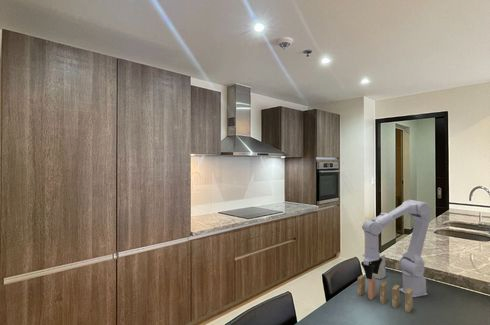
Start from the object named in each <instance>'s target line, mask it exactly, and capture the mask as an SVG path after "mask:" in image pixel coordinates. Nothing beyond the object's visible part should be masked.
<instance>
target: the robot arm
mask: <svg viewBox="0 0 490 325" xmlns="http://www.w3.org/2000/svg"><path fill="white" fill-rule="evenodd" d="M401 203H402V204H401V205H399V206H397V207H396V208H394V209H393V210H391V211H389V212H380V214H379V215H377V216H375V217H372V218H371V219H368V220H365V221H364V222H363V223H362V225H361V227H362V228H361V229H362V230H363V233H364V253H363V254H362V257H364V259H363V261H361V262H360V265H361V267H362V268H363V271H364V275H365V279H368V280H370V279H372V278H373V277H372V274H373V273H375V274H378V271H379V267H380V264H381V262H382V258H379V257H380V251H379V248H380V247H379V246H380V245H379V242H380V241H379V240H380V239H379V235H380V234H381V233H382V231H383V230H384V229H385V228H388V226H390V225H392V224H393V223H394V220H395V219H399V218H401V217H403V216H404V215H406V214H409V215H410V216H412V217H413V219H414V221H415V222H414V225H413V229H412V233H411V237H410V241H409V245H408V248H407V252H404V253H402V256H401V258H400V259H399V261H398V267H399V268H400V270H401V272H402V287H401V288H400V292H402V294H403V293H404V294H405V292H406V290H407V289H408V288H409V289H413V298H417V297H422V296H427V295H429V294H428V293H427V279H426V277H425V275H424V274H425V261H424V259H423V258H422V253H423V248H424V244H425V240H426V237H427V233H428V229H429V225H430V219H431V211H432V207H431V206H430V205H429V203H427V201H420V200H419V201H418V200H413V199H410V198H409V199H406V200H405V201H403V202H401Z"/></svg>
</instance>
